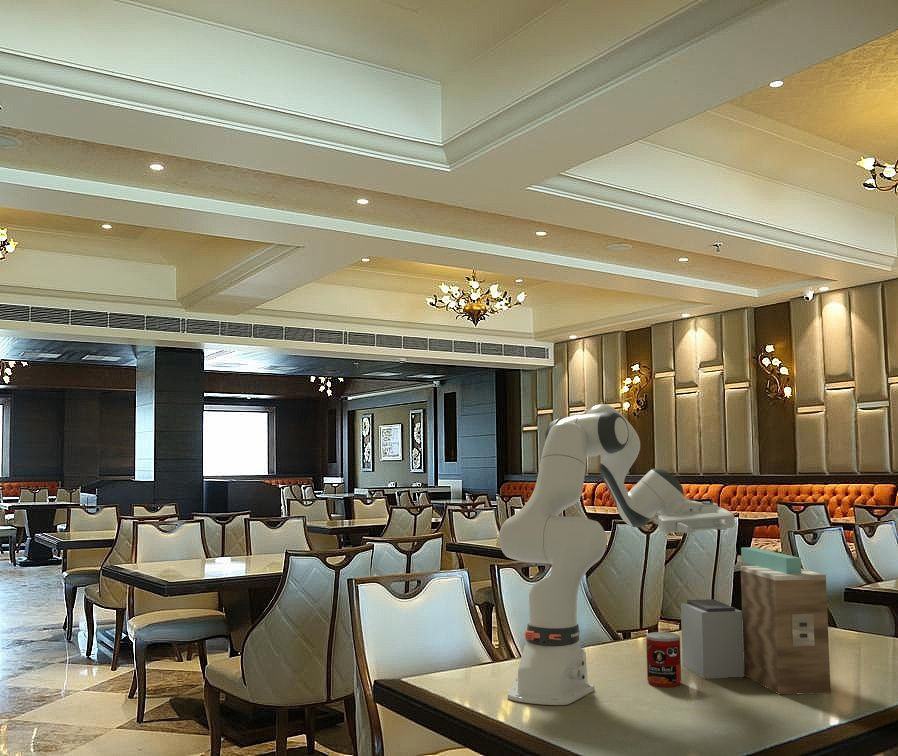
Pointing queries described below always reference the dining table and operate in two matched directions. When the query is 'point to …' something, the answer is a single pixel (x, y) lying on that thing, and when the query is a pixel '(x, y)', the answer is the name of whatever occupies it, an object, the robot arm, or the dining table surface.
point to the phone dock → (712, 639)
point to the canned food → (663, 659)
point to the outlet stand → (785, 630)
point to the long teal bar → (771, 560)
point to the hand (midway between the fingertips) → (706, 528)
